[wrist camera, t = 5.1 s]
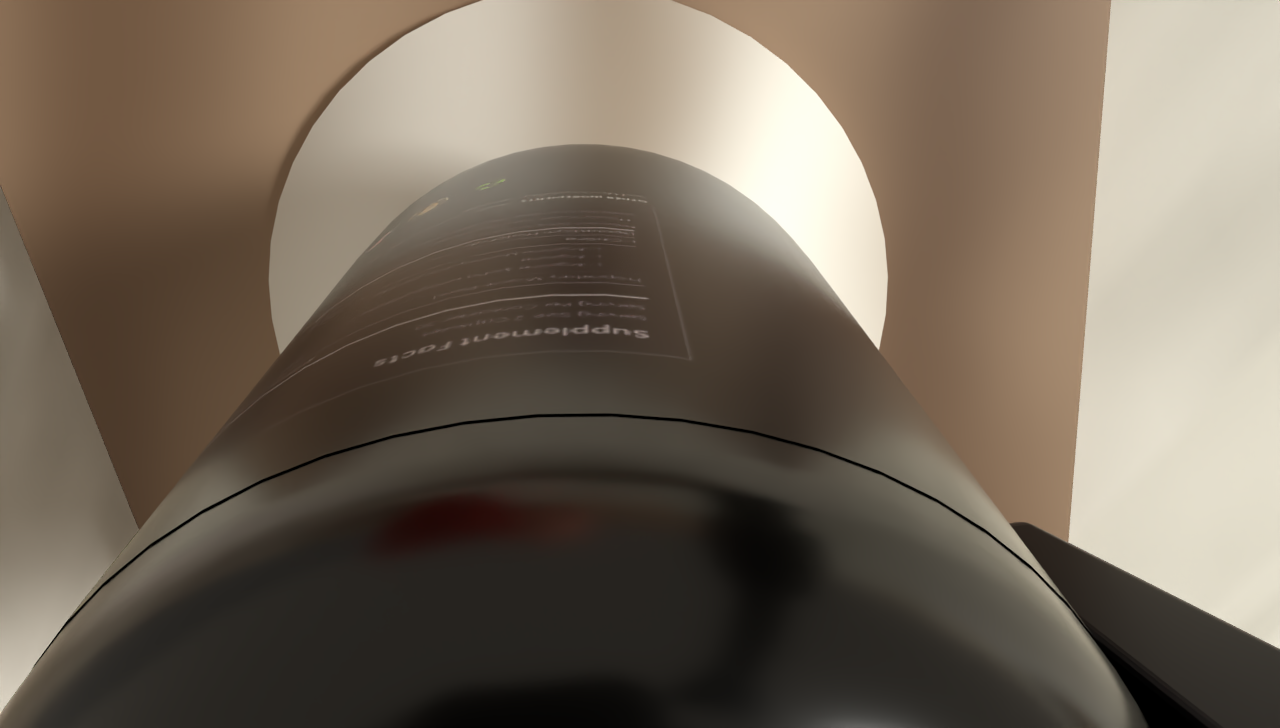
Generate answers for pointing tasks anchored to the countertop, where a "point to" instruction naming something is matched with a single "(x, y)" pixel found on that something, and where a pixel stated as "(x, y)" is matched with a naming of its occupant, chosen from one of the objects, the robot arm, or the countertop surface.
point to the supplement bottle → (577, 500)
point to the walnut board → (550, 116)
